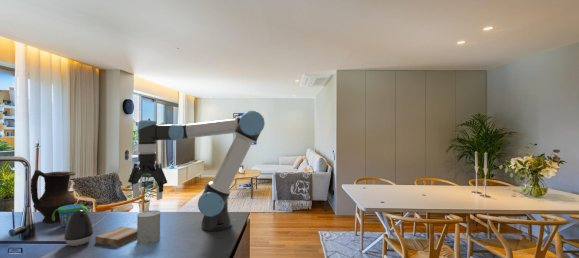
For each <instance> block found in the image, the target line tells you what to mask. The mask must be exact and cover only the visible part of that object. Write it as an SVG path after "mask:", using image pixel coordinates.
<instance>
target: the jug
mask: <svg viewBox="0 0 579 258" xmlns="http://www.w3.org/2000/svg"><path fill="white" fill-rule="evenodd" d="M75 175H76V173H75V172H74V171H50V172H46V173H45V172H43V171H41V170H40V169H35V170H34V172H33V174H32V177H31V179H30V194H31V201H32V203H33V205H32V207H33V209H35V210H36V211H38V213H40V214H41V215H42V216H43V218H42V223H45V224H52V223H59V222H60V223H61V221H60V215H59V212H58V210H57V209H58V208H59V207H62V206H66V205H73V204H77V202H78V200H77V199H76V197H75V196H74V195H73V194H72V193H70V191H69V184H70V178H71V176H75ZM39 177H42V178H43V180H44V191H43V194H42V195H41V196H40V197H39V195H38V181H39ZM55 210H57V211H56V212H55V214H54V215H55V221H52V214H53V212H54V211H55Z"/></svg>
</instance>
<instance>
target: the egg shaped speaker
mask: <svg viewBox="0 0 579 258" xmlns="http://www.w3.org/2000/svg"><path fill="white" fill-rule="evenodd" d="M89 215H90V214H89ZM89 215H88V213H87V211H86V210H85V209H83V210H77V211H75V212H73V213H72V215H71V216H70V218H69V220H68V223H67V226H66V227H65V230H64V235H63V239H64V241H65V243H66V245H68V246H70V247H79V245H80V246H82V245H84V244H87V243H88V242H89V241H90V240H91V239H92V236H93V234H94V228H93V223H92V220H91V216H89Z"/></svg>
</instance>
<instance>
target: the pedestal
mask: <svg viewBox="0 0 579 258" xmlns="http://www.w3.org/2000/svg"><path fill="white" fill-rule="evenodd" d="M136 239H137V228H136V227H135V228H134V227H126V226H120V227H117V228H114V229H112V230H109V231H107V232H104V233H100V234H98V235H95V241H94V242H95V244H97V245H105V246H110V245H111V246H112V247H117V246H118V247H120V246H122V245H124V244H126V243H129V242H131V241H133V240H136Z"/></svg>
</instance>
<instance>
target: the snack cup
mask: <svg viewBox="0 0 579 258" xmlns="http://www.w3.org/2000/svg"><path fill="white" fill-rule="evenodd" d="M57 210H58V212H59V215H60V226H61V227H62V228H66V226H67V223H68V220H69V218H70V216H71V215H72V213H73V212H75V211H77V210H85V211H86V212H87V213H88V215H90V214H89V213H90V211H89V208H88V207H87V206H84V204H78V203H75V204H73V205H66V206H62V207H59V208H58V209H57ZM57 210H55V211H54V212H53V214H52V221H55V215H54V214H55V212H56V211H57Z"/></svg>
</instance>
